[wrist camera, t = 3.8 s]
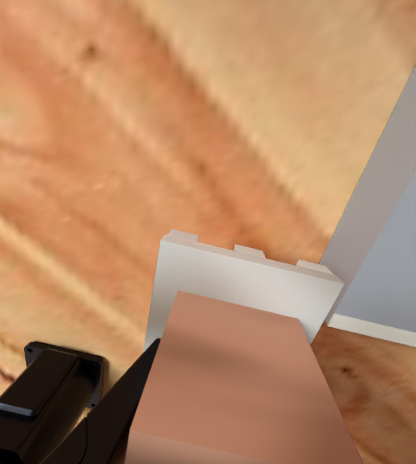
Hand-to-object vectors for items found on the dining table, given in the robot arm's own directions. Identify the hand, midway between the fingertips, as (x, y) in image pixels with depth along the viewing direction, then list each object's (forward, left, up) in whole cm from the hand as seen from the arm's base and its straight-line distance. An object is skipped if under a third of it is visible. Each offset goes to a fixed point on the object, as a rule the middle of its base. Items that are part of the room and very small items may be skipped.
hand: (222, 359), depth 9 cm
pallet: (0, 0, -2) cm, 2 cm away
